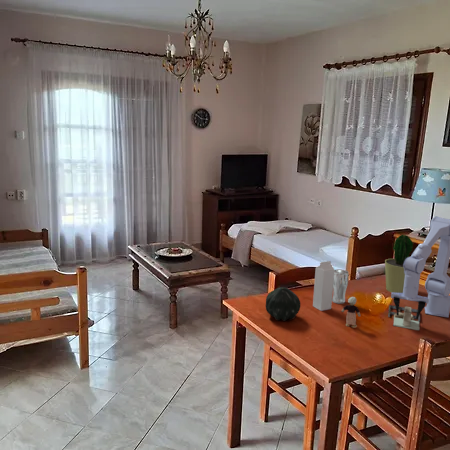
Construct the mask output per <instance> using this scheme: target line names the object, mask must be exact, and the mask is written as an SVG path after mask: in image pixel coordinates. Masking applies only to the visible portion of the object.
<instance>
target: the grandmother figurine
mask: <svg viewBox="0 0 450 450" xmlns="http://www.w3.org/2000/svg"><path fill="white" fill-rule="evenodd" d="M347 302H348V303H349V304H346V305H345V306H343V307H342V309H341V312H342V313H344V312H345V311H347V312H346V320H345V321H346V323H345V326H346V327H348V328H349V327H351V328H352V329H354V328H357V327H358V325H357V323H356V322H357V316H358V317H361V313H360V312H361V311H360V310H359V308H358V307H357V305H356V303H357V298H356V297H355V296H350V297H349V298H348V299H347Z"/></svg>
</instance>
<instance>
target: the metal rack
mask: <svg viewBox="0 0 450 450" xmlns="http://www.w3.org/2000/svg"><path fill="white" fill-rule="evenodd" d="M391 309H392V310H393V309H394V310H396V306H395V305H393V304H392V305H391V304H389V305H388V314H387V315H388V316H387V317H388V318H390V317H391V316H392V315H393V316H394V315H395V314H397V311H396V312H395V311H391ZM404 310H405V306H399V312H400V313H401V311H404ZM417 310H418V308H417V309H415V308H411V313H417ZM411 315H412V316H413V317H412V318H414V320H415V319H416V315H413V314H411ZM416 320H417V321H419V323H420V322H421V314H420V315H419V317H418V319H416Z"/></svg>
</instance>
